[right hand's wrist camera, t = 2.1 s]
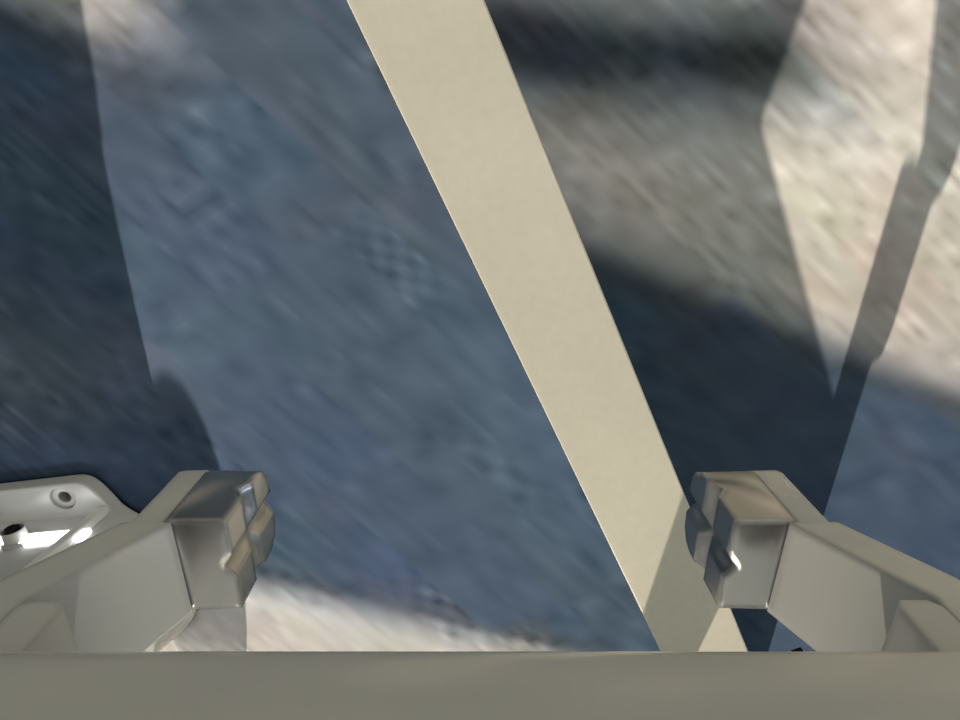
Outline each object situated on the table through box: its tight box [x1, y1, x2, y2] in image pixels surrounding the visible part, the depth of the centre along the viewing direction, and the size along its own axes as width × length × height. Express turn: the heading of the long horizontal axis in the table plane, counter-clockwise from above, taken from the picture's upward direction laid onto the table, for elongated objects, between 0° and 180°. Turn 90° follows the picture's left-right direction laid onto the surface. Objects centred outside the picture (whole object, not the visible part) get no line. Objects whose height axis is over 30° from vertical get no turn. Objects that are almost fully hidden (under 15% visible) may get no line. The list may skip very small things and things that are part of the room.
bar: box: [347, 0, 748, 652], centre depth 35 cm, size 64×5×8 cm, turn 26°
